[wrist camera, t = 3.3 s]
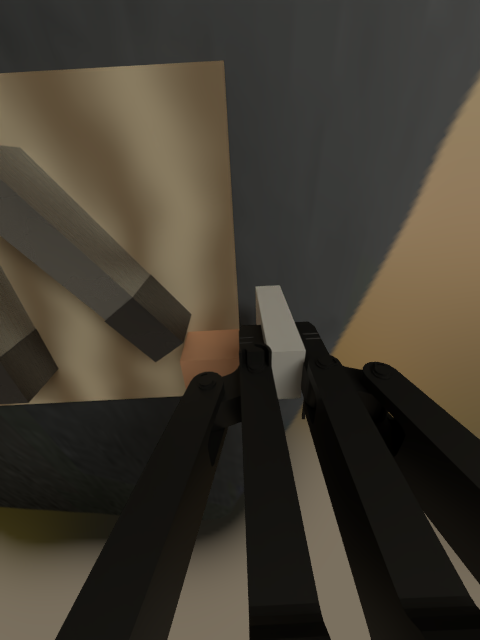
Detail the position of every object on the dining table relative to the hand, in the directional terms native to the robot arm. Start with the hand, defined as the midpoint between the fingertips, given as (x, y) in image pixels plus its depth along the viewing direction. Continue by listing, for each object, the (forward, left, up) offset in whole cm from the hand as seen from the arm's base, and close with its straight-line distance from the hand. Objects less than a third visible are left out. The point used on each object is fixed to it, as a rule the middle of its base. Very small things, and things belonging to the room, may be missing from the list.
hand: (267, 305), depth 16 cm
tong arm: (-10, +3, -2) cm, 11 cm away
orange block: (-4, -4, -2) cm, 6 cm away
